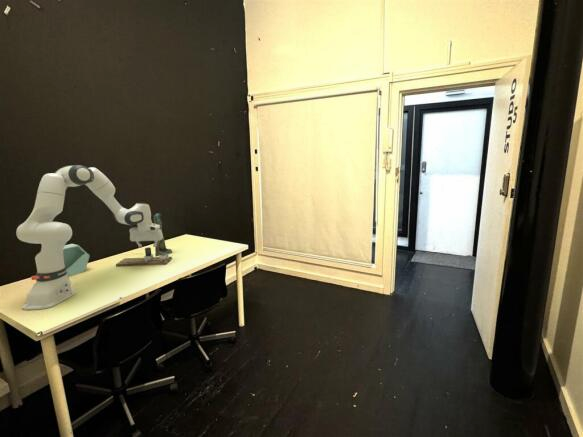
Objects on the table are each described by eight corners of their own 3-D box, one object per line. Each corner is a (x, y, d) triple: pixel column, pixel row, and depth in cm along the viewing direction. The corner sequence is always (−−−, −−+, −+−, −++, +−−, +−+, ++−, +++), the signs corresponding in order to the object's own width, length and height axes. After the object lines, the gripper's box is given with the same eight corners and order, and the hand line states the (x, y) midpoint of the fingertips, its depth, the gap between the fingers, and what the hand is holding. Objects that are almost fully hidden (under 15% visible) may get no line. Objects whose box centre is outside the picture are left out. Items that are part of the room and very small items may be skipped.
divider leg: (149, 261, 200) (147, 250, 198) (143, 262, 199) (141, 250, 198) (153, 258, 207) (152, 246, 205) (147, 258, 207) (146, 247, 205)
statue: (172, 253, 224) (168, 213, 218) (156, 256, 218) (152, 215, 212) (170, 250, 229) (166, 212, 223) (154, 253, 223) (150, 213, 217)
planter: (73, 282, 185) (46, 260, 172) (67, 279, 189) (40, 258, 176) (96, 260, 195) (71, 239, 182) (89, 258, 199) (65, 237, 186)
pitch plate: (166, 264, 200) (165, 255, 198) (115, 266, 198) (114, 257, 197) (171, 258, 211) (171, 250, 210) (124, 260, 209) (123, 252, 208)
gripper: (126, 228, 196) (129, 249, 199) (159, 227, 198) (161, 247, 201) (131, 226, 202) (133, 246, 205) (162, 225, 204) (164, 244, 207)
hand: (147, 246), depth 203 cm, fingers open, 8 cm apart
